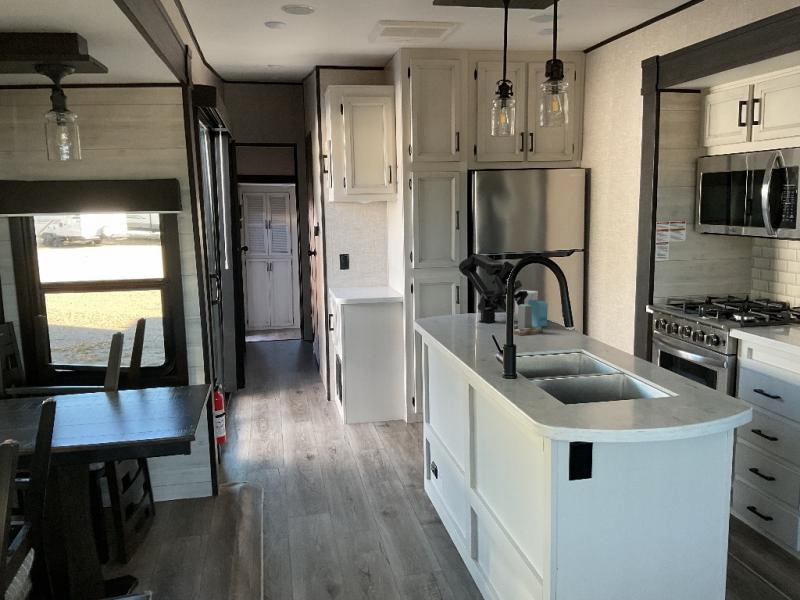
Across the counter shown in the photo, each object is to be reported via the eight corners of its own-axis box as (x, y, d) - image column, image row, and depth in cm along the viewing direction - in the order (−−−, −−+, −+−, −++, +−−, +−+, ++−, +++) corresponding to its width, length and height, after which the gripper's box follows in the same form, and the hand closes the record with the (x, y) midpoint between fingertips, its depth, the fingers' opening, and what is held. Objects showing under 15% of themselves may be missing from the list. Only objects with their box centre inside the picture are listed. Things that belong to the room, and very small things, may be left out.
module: (524, 330, 304) (525, 306, 302) (517, 328, 308) (518, 304, 306) (531, 330, 305) (532, 305, 304) (524, 328, 310) (525, 303, 308)
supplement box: (530, 322, 332) (531, 292, 330) (514, 321, 337) (514, 291, 335) (537, 320, 340) (538, 290, 337) (520, 318, 344) (521, 289, 342)
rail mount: (519, 335, 300) (519, 329, 299) (506, 331, 308) (506, 325, 308) (542, 333, 306) (542, 327, 305) (529, 329, 314) (529, 323, 314)
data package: (547, 327, 320) (547, 302, 318) (538, 327, 318) (539, 303, 317) (535, 323, 331) (536, 299, 329) (527, 323, 330) (527, 299, 328)
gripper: (494, 275, 310) (507, 302, 301) (526, 273, 318) (540, 300, 310) (484, 290, 318) (496, 317, 310) (516, 288, 326) (529, 314, 318)
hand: (516, 311), depth 312 cm, fingers open, 9 cm apart
